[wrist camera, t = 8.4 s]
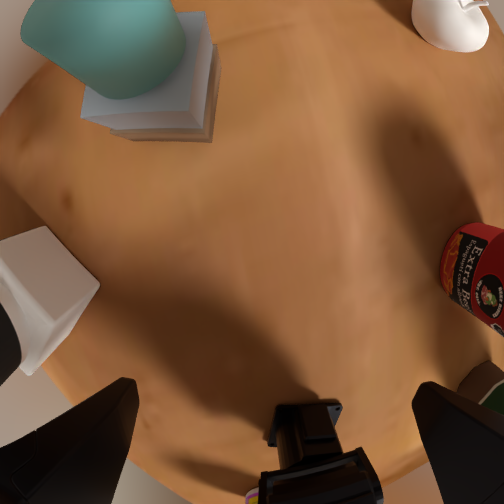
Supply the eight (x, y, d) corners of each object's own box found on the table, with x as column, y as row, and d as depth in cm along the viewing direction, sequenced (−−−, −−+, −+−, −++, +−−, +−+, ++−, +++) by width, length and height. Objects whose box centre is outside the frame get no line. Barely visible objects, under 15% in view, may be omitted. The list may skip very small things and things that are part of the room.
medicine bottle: (45, 222, 18) (-68, 265, 7) (103, 283, 20) (7, 372, 8) (19, 281, 19) (-68, 337, 8) (69, 334, 21) (-4, 418, 9)
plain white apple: (459, 75, 16) (518, 56, 8) (396, 38, 15) (451, -1, 8) (455, 23, 14) (502, -2, 7) (396, -11, 14) (437, -51, 6)
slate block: (202, 128, 14) (188, 111, 10) (116, 129, 13) (80, 117, 9) (212, 47, 12) (204, 11, 9) (129, 52, 12) (102, 23, 8)
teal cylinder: (204, 23, 8) (178, -62, 4) (153, 109, 9) (83, 44, 4) (122, 15, 8) (76, -46, 3) (74, 92, 9) (1, 49, 4)
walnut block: (212, 143, 18) (204, 133, 14) (134, 141, 17) (110, 133, 13) (221, 69, 16) (216, 44, 12) (145, 69, 16) (126, 49, 12)
